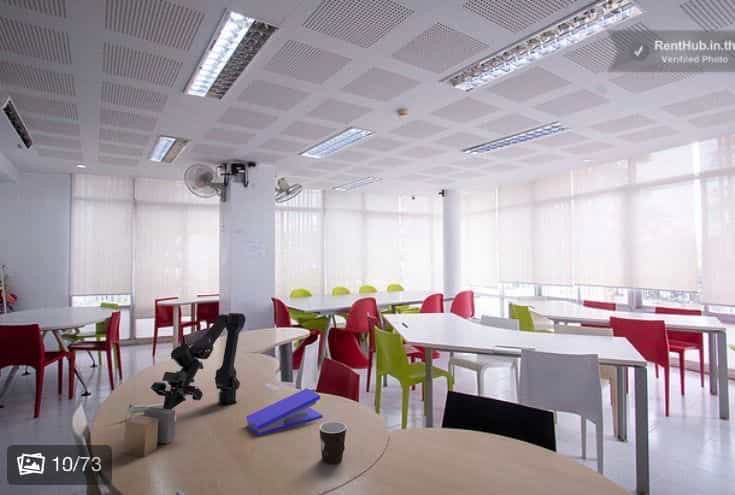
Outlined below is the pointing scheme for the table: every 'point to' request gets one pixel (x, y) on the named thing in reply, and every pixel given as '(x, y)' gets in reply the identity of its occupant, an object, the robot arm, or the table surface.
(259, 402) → the table surface
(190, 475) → the table surface
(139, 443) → the tan rectangular block
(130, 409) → the caliper
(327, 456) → the dark brown cup
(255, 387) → the table surface
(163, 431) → the gray concrete brick
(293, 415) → the stapler
